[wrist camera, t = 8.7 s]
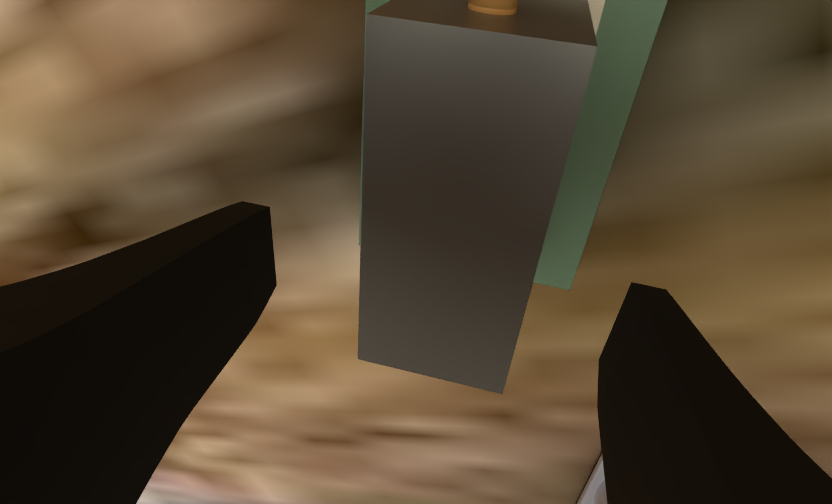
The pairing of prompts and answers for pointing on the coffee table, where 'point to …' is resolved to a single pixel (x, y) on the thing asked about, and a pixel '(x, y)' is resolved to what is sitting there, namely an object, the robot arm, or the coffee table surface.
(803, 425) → the coffee table surface
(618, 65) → the green and cream box
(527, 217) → the block
